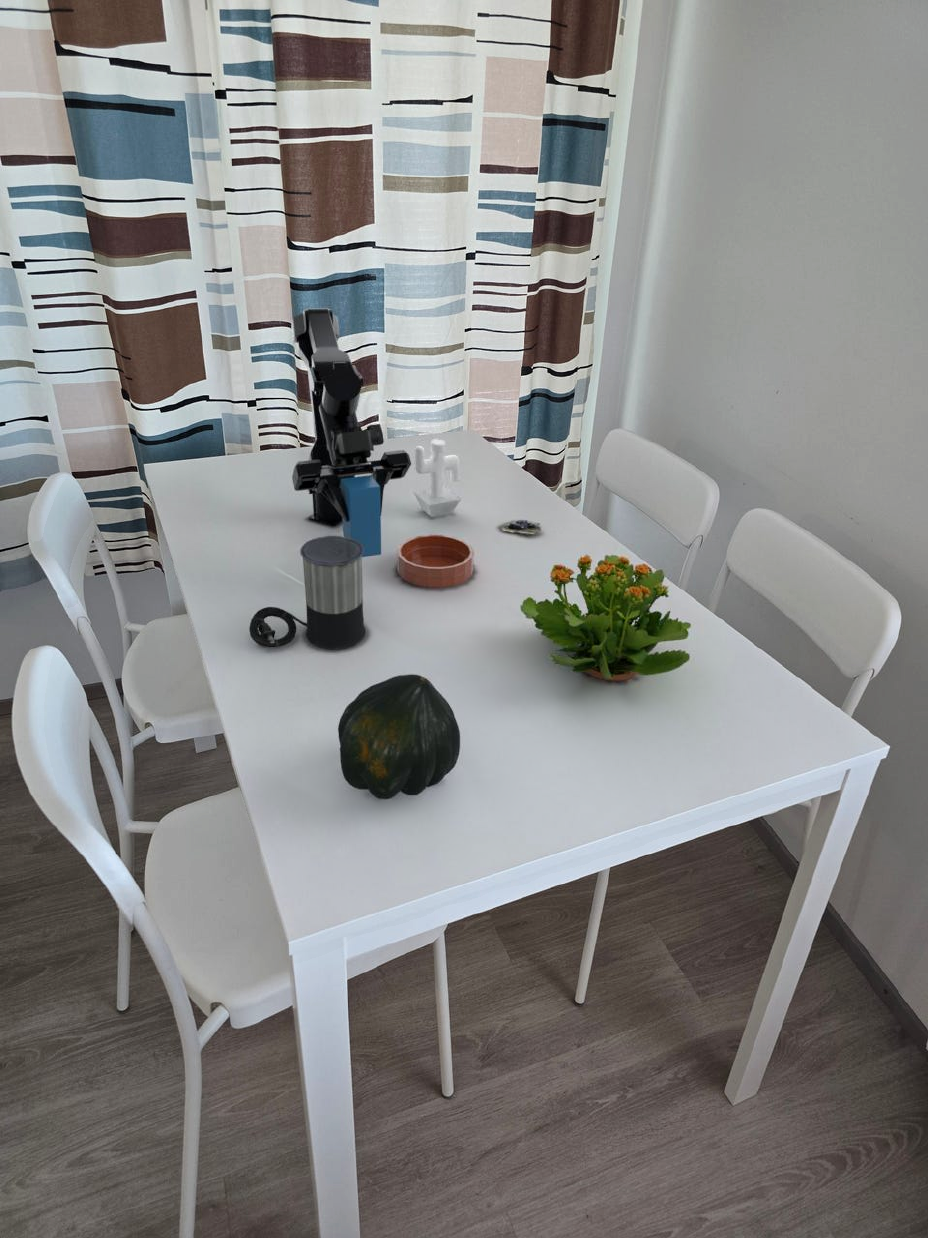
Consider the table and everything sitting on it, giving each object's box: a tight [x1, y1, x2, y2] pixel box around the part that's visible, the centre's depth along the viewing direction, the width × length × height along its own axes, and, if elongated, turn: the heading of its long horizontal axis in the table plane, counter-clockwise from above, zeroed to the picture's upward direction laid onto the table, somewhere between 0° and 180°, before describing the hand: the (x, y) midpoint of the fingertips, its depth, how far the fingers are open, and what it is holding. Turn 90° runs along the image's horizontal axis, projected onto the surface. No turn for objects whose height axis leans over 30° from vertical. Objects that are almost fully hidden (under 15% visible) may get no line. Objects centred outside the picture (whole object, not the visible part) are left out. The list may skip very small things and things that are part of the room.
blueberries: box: [500, 519, 542, 536], centre depth 167 cm, size 7×8×2 cm
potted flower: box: [520, 554, 692, 682], centre depth 123 cm, size 25×24×18 cm
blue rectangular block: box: [341, 474, 382, 558], centre depth 139 cm, size 5×5×12 cm
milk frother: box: [248, 535, 367, 650], centre depth 128 cm, size 14×16×15 cm
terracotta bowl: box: [396, 534, 475, 589], centre depth 151 cm, size 13×13×4 cm
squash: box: [337, 674, 461, 800], centre depth 102 cm, size 14×15×15 cm
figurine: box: [413, 438, 462, 518], centre depth 170 cm, size 7×9×15 cm
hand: (363, 518), depth 137 cm, fingers closed on blue rectangular block, 5 cm apart
